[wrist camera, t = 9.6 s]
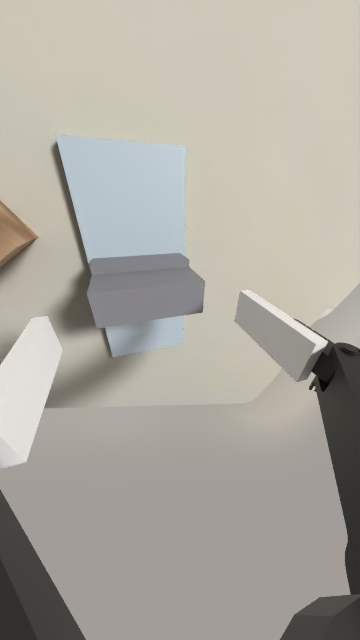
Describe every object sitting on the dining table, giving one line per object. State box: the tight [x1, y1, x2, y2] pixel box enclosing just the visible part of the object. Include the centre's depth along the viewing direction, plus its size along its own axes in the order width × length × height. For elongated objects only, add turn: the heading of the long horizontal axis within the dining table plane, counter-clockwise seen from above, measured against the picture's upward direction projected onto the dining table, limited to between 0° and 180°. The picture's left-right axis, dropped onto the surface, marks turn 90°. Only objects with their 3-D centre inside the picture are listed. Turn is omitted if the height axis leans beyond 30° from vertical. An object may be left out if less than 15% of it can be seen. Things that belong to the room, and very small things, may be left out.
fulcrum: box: [55, 135, 205, 358], centre depth 18 cm, size 10×22×8 cm, turn 0°
